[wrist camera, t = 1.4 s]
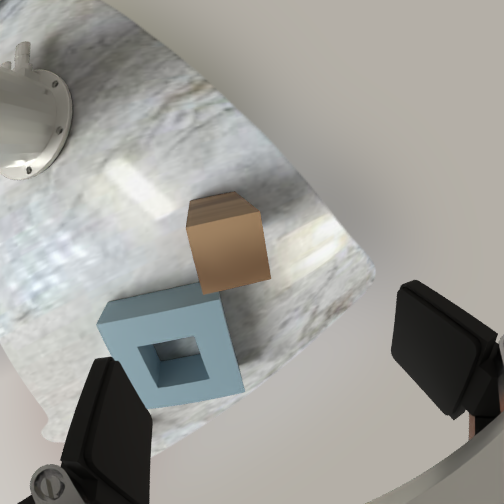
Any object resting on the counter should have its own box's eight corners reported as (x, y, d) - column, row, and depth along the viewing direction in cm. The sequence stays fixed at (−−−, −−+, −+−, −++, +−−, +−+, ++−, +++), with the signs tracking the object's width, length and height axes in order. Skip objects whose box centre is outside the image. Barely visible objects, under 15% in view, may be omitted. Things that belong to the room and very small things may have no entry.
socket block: (107, 302, 30) (96, 324, 25) (215, 278, 31) (219, 299, 26) (146, 383, 34) (142, 409, 29) (238, 365, 36) (245, 391, 31)
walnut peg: (189, 200, 28) (185, 227, 17) (234, 191, 29) (260, 211, 17) (199, 243, 30) (203, 294, 18) (242, 234, 30) (271, 278, 19)
